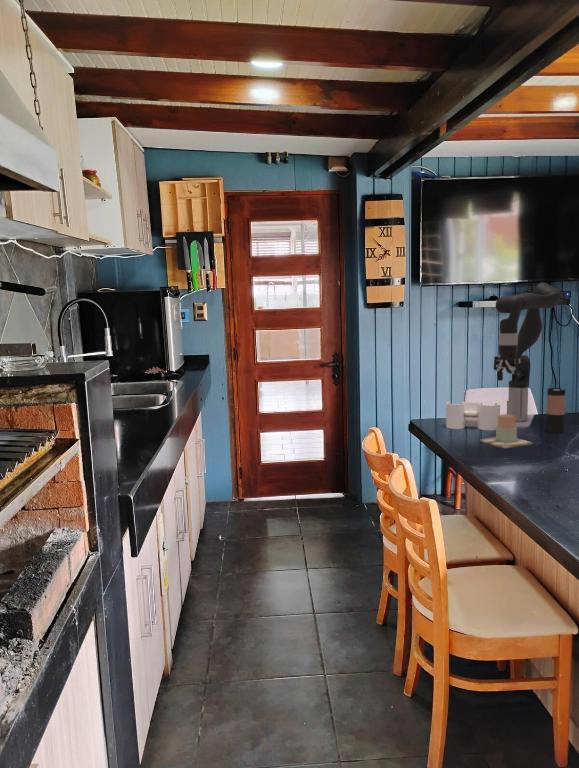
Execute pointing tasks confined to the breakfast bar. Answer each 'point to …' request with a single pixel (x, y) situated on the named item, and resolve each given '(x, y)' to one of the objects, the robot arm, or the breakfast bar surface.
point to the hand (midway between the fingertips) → (507, 381)
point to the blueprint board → (506, 445)
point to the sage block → (506, 434)
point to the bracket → (472, 415)
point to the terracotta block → (506, 421)
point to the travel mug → (555, 410)
